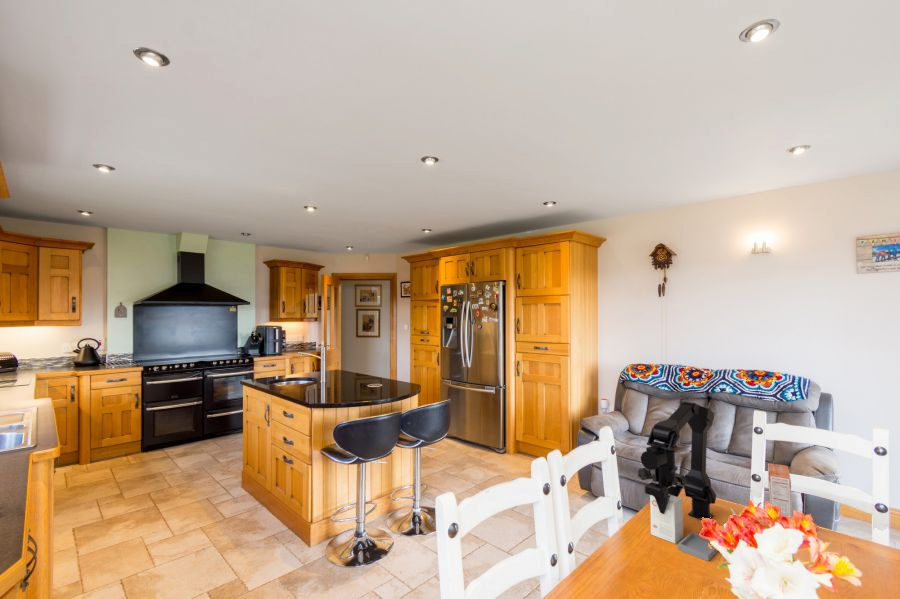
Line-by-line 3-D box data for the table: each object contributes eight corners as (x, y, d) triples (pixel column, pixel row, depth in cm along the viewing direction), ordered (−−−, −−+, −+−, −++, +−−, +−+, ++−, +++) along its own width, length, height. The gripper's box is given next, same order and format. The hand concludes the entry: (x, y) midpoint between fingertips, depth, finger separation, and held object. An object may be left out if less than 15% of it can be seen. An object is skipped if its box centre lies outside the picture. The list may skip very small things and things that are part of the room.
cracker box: (769, 521, 153) (767, 462, 153) (790, 526, 149) (789, 465, 150) (770, 538, 141) (768, 474, 142) (793, 543, 138) (791, 478, 138)
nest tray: (691, 537, 142) (691, 531, 142) (721, 547, 136) (721, 542, 136) (677, 549, 135) (677, 543, 135) (708, 561, 128) (708, 555, 128)
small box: (683, 537, 142) (682, 498, 142) (675, 544, 138) (674, 503, 138) (658, 528, 148) (658, 490, 148) (650, 534, 144) (649, 495, 144)
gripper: (653, 451, 156) (654, 494, 155) (628, 463, 144) (629, 510, 143) (686, 459, 147) (687, 505, 147) (662, 472, 135) (663, 522, 135)
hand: (666, 510), depth 143 cm, fingers closed on small box, 6 cm apart
